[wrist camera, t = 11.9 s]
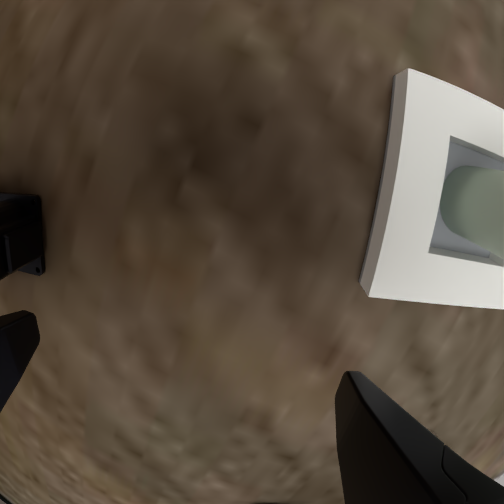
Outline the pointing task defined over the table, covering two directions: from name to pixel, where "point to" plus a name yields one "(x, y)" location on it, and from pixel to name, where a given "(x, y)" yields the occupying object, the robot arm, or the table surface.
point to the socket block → (432, 197)
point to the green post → (475, 206)
